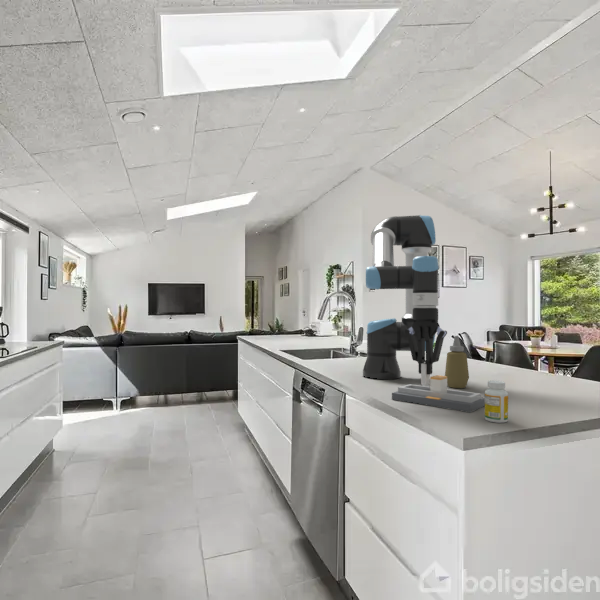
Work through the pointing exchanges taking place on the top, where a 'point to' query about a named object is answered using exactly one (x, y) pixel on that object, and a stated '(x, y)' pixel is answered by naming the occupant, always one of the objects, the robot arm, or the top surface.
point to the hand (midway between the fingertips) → (425, 384)
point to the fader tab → (438, 384)
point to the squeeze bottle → (457, 366)
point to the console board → (440, 397)
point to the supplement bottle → (496, 402)
